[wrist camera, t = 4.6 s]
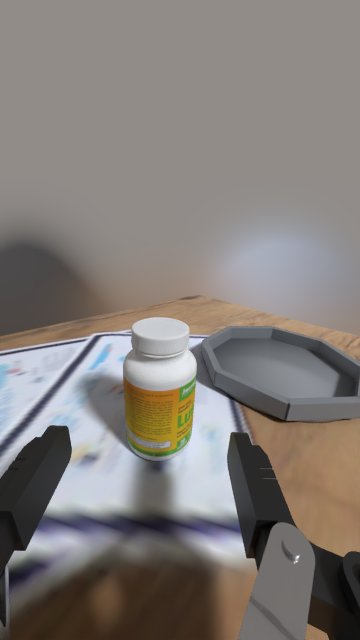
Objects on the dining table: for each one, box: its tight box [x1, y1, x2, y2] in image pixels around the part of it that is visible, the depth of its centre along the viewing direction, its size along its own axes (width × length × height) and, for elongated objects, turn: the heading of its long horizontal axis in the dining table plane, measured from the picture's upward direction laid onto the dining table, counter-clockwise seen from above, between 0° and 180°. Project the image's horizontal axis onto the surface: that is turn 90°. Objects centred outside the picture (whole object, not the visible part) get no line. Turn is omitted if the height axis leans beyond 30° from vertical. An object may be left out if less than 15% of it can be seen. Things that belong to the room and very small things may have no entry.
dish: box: [201, 326, 360, 423], centre depth 28 cm, size 18×18×2 cm
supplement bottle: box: [123, 318, 197, 461], centre depth 17 cm, size 5×5×10 cm
